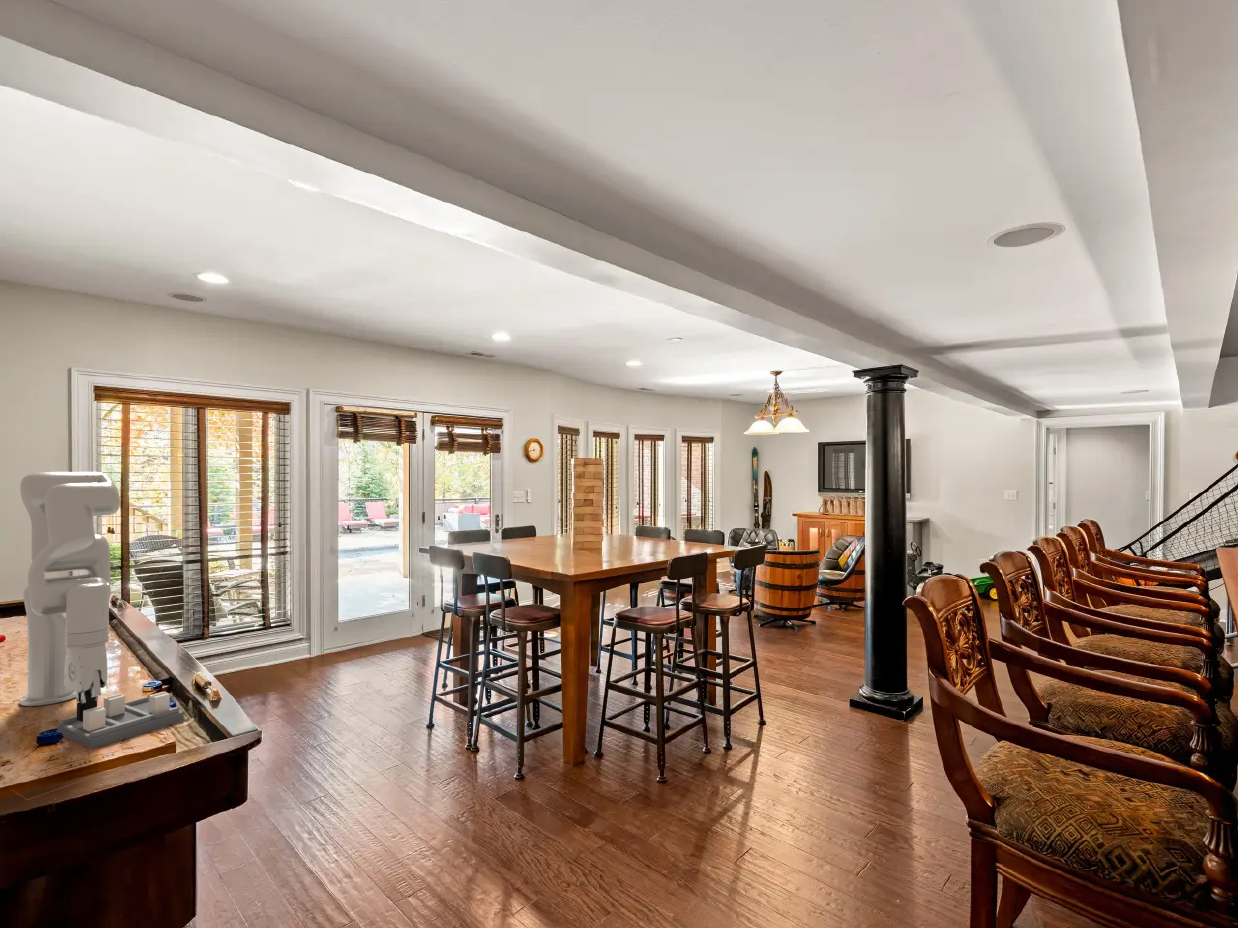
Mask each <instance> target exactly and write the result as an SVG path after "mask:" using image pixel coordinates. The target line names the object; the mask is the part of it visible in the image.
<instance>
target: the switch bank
mask: <svg viewBox="0 0 1238 928" xmlns="http://www.w3.org/2000/svg"><path fill="white" fill-rule="evenodd" d="M184 715H185V714H184V711H182V710H180V707H178V706H175V707H171V706H170V709H168V710H165V711H161V712H158V713H154V714H152V713H149V696H143V697H139V698H136V699H132V700H129V701H125V713H123V714H119V715H115V716H112V717H108V716H106V727H103V728H99V729H96V730H92V731H87V730H85V729H83V722H80V721H78V720H77V714H76V715H73V716H70V717H65V718H62V719H61V722H60V723H58V724H57V732H58V731H60V732H61V733H62V734H63V735H62V736H63V737H65V738H68V740H71V741H73V742H75V743H77V744H79V745H81V746H83V747H86V748H88V749H90V750H93V749H96V748H99V747H103V746H105V745H108V744H112V743H115V742H119V741H122V740H125V739H128V738H131V737H134V736H138V735H141V734H144V733H147V732H150V731H154V730H157V729H161V728H164V727H166V726H171V725H172V724H176V723H179V722H182V721H184Z"/></svg>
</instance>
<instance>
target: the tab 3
mask: <svg viewBox="0 0 1238 928" xmlns="http://www.w3.org/2000/svg"><path fill="white" fill-rule="evenodd" d="M148 697H149V713H152V714H154V713H158V712H161V711H165V710H168V709H170V707H171V706H170V705H171V704H170V702H171V701H170V700H171V699H170V698H171V697H170V693H168V692H166V691H161V692H158V693H157V692H156V693H154V694H150V695H149V696H148Z"/></svg>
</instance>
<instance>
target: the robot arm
mask: <svg viewBox="0 0 1238 928" xmlns="http://www.w3.org/2000/svg"><path fill="white" fill-rule="evenodd" d="M19 487H20V488H19V493H20V497H21V500H22V503H23V505H24V507H25V509H26V511H27V513H28V515H29V516H28V517H29V518H30V523H31V564H30V566H29V569H28V573H27V586H26V587H25V588H24V591H23V603H24V608H25V612H26V613H25V614H26V619H27V620H26V621H27V694H24V695H22V696H21V697H20V698H19V700H18V701H19V702H18V703H19V704H20V705H21V706H24V707H25V706H26V707H36V706H45V705H46V706H47V705H51V704H57V703H61V702H65V701H69V700H71V699H74V698H75V701H76V715H77V720H78V721H80V722H83V711H84V710H88V709H91V708H95V707H98V700H99V696H101V695H102V690H101V689H103V688H105V687H106V686H107V684H108V658H107V657H108V655H107V647H106V646H107V645H106V644H107V643H109V640H110V639H109V637H110V635H109V631H110V630H109V629H110V628H109V626H110V624H109V622H110V621H109V620H110V599H111V593H112V590H111V549H110V544H109V541H108V540H107V538H106V537H105V536H103V535H101V534H96V532H95V527H94V522H93V521H94V520H93V517H99V516H101V517H102V516H113V515H114V514H116V513H117V512H118V510H119V508H120V504H121V497H120V493H119V490H118V488H117V486H116V484H115V483H114V481H113V480H112V479H111V478H110V477H109V476H108V475H107V474H106V473H105V472H99V471H71V472H70V471H43V472H41V471H40V472H35V473H34V472H32V473H28V474H27V475H25V476H23V477H22V479H21V481H20V484H19ZM74 571H87V572H88V573H87V574H78V575H66V576H65V575H64V576H58V577H57V576H56V577H47V578H45V574H46V573H47V574H48V573H61V572H62V573H63V572H74ZM64 614H65V615H64Z"/></svg>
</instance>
